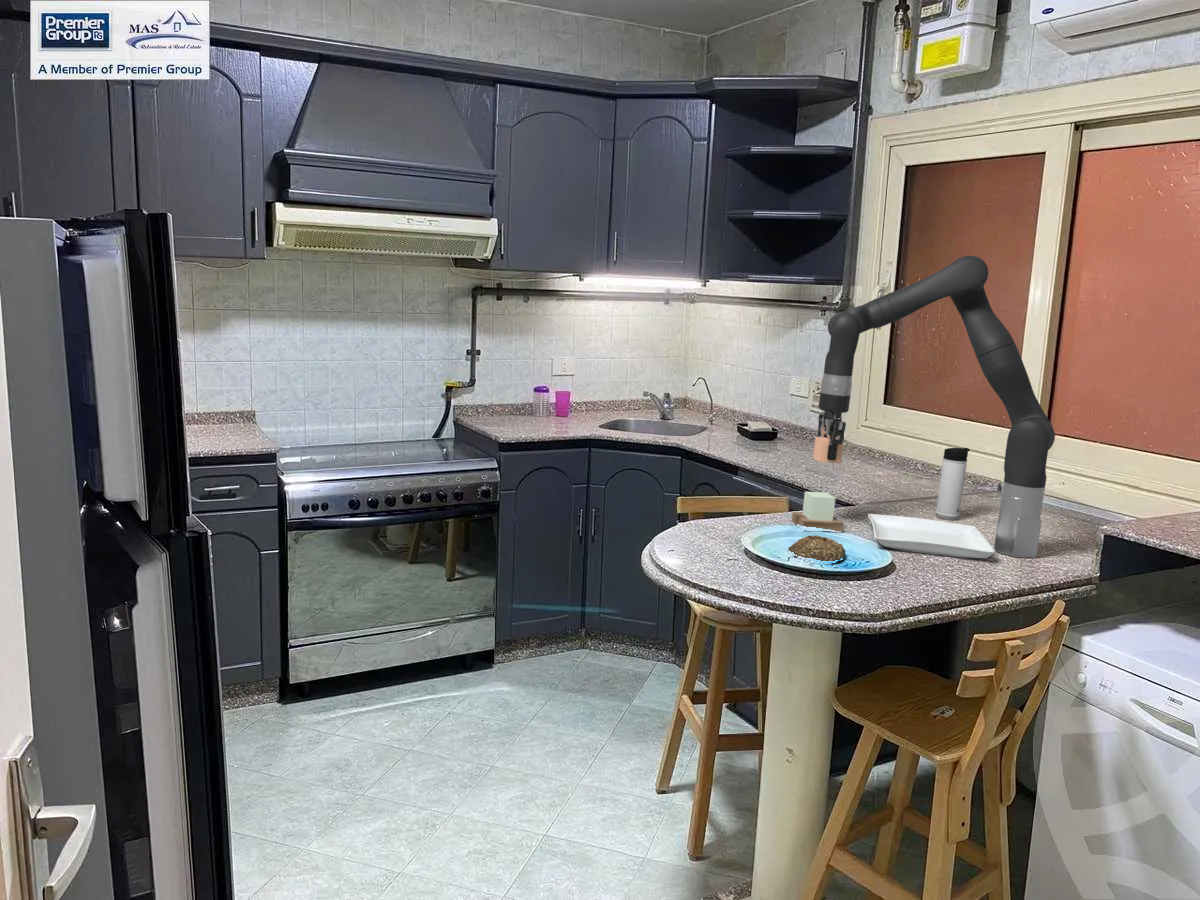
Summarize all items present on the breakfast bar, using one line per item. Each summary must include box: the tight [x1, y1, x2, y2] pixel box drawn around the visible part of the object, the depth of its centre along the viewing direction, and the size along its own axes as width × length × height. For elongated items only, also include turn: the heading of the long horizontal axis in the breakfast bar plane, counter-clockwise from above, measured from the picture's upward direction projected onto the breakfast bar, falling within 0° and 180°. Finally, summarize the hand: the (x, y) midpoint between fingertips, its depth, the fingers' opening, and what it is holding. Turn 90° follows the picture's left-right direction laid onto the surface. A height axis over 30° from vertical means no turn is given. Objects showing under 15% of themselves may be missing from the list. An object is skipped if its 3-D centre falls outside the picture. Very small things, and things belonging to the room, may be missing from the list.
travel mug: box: [935, 447, 970, 521], centre depth 261 cm, size 6×7×20 cm
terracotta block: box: [812, 436, 844, 464], centre depth 240 cm, size 6×6×6 cm
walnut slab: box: [791, 511, 844, 532], centre depth 242 cm, size 10×10×2 cm
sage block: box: [802, 491, 836, 521], centre depth 241 cm, size 6×6×6 cm
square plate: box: [867, 513, 996, 559], centre depth 233 cm, size 27×27×4 cm
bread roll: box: [787, 534, 846, 561], centre depth 214 cm, size 13×12×5 cm
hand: (827, 457), depth 240 cm, fingers closed on terracotta block, 5 cm apart
